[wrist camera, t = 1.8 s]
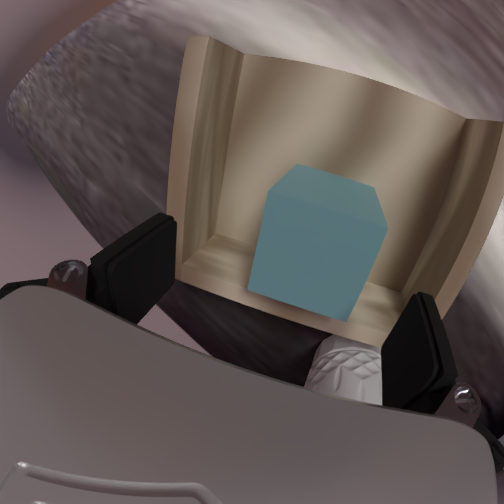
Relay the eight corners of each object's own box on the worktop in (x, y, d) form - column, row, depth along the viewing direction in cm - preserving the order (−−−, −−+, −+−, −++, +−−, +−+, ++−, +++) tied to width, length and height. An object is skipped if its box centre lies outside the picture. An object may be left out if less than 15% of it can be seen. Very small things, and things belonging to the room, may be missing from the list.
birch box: (477, 126, 12) (520, 133, 8) (406, 305, 19) (415, 356, 15) (230, 54, 15) (188, 36, 11) (202, 239, 22) (165, 274, 18)
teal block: (373, 187, 16) (388, 228, 10) (350, 255, 19) (346, 322, 13) (297, 163, 17) (267, 190, 11) (280, 233, 20) (247, 289, 14)
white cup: (366, 390, 25) (356, 479, 16) (296, 367, 26) (267, 457, 17) (411, 340, 21) (420, 444, 12) (331, 310, 22) (310, 418, 13)
